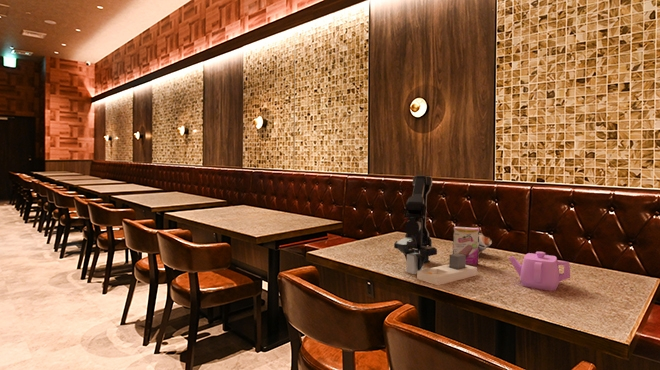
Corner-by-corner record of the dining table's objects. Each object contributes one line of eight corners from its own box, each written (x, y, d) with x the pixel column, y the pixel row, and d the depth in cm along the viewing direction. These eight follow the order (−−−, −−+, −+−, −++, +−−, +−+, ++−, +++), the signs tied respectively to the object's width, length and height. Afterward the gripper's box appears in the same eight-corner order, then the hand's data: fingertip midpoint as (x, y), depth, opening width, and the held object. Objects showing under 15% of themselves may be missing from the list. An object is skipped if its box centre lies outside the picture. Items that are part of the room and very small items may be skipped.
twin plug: (449, 274, 163) (449, 254, 163) (456, 272, 166) (457, 253, 166) (457, 276, 160) (457, 256, 160) (465, 274, 163) (465, 255, 163)
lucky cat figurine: (479, 250, 210) (491, 229, 203) (484, 264, 199) (497, 242, 193) (452, 241, 210) (463, 220, 203) (455, 255, 199) (467, 233, 193)
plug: (406, 273, 166) (406, 254, 166) (414, 271, 169) (415, 252, 169) (413, 275, 163) (414, 256, 163) (422, 273, 166) (422, 254, 166)
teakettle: (537, 293, 143) (538, 258, 142) (505, 279, 159) (506, 248, 158) (576, 289, 147) (578, 256, 146) (541, 276, 163) (542, 246, 163)
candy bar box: (452, 264, 182) (453, 227, 181) (452, 261, 187) (453, 226, 186) (478, 266, 178) (479, 229, 177) (478, 263, 183) (479, 227, 182)
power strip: (417, 279, 157) (417, 270, 157) (456, 270, 171) (456, 261, 171) (437, 286, 149) (437, 276, 149) (476, 276, 163) (477, 266, 162)
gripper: (384, 229, 168) (384, 266, 169) (418, 236, 153) (418, 277, 154) (403, 227, 175) (403, 262, 175) (438, 233, 159) (437, 272, 160)
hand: (414, 268), depth 166 cm, fingers open, 5 cm apart
